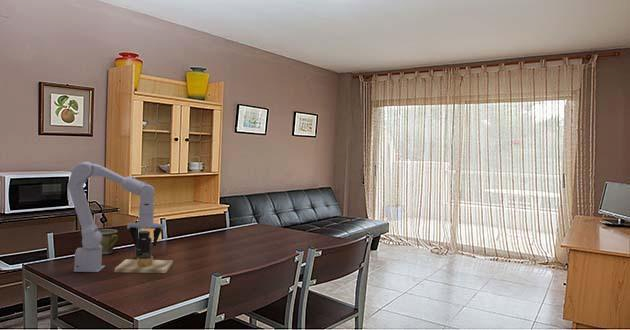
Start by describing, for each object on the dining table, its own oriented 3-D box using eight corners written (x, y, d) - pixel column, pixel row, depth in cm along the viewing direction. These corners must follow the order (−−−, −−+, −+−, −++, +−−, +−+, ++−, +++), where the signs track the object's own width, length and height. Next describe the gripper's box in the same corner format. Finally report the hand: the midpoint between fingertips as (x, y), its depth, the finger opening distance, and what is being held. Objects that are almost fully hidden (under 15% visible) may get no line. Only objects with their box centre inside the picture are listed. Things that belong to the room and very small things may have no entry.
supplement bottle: (133, 259, 197) (134, 233, 196) (137, 255, 203) (137, 230, 203) (149, 259, 198) (150, 233, 197) (152, 255, 204) (153, 230, 204)
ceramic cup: (88, 252, 204) (89, 231, 203) (106, 248, 213) (107, 228, 212) (107, 257, 198) (108, 235, 198) (126, 252, 207) (126, 231, 207)
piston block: (114, 272, 177) (115, 257, 177) (125, 262, 191) (125, 249, 191) (165, 273, 179) (166, 258, 179) (172, 263, 193) (173, 250, 193)
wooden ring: (135, 266, 182) (135, 258, 182) (139, 262, 188) (139, 255, 188) (150, 266, 182) (150, 259, 182) (154, 262, 188) (154, 255, 188)
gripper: (125, 214, 179) (124, 247, 180) (162, 215, 181) (160, 248, 182) (130, 211, 186) (129, 243, 187) (165, 213, 188) (164, 244, 189)
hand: (145, 245), depth 185 cm, fingers open, 7 cm apart
